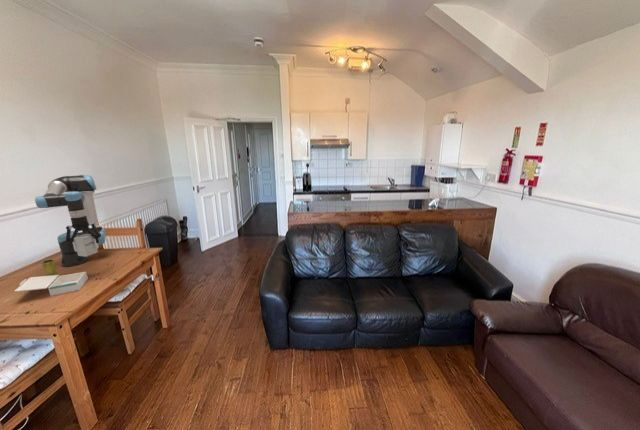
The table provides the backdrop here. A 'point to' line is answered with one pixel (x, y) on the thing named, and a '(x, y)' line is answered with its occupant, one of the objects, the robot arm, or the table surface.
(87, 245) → the supplement box
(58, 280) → the box
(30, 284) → the lid
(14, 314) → the table surface
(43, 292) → the table surface
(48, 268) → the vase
